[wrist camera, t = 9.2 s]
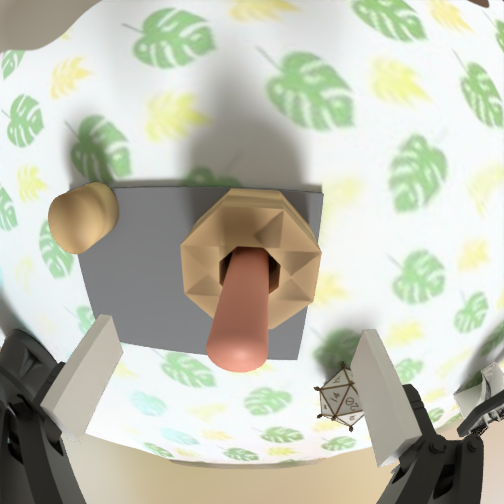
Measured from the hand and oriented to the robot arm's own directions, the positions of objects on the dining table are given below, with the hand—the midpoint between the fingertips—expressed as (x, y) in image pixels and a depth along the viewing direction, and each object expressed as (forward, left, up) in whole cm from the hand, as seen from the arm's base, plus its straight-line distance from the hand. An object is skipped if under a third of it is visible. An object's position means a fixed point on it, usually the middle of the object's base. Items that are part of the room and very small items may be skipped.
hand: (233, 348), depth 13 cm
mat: (-7, -5, -14) cm, 16 cm away
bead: (0, 0, -14) cm, 14 cm away
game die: (+13, -19, -14) cm, 27 cm away
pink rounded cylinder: (0, 0, -14) cm, 13 cm away
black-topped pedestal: (+45, -26, -15) cm, 54 cm away
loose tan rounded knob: (-16, +3, -14) cm, 21 cm away
